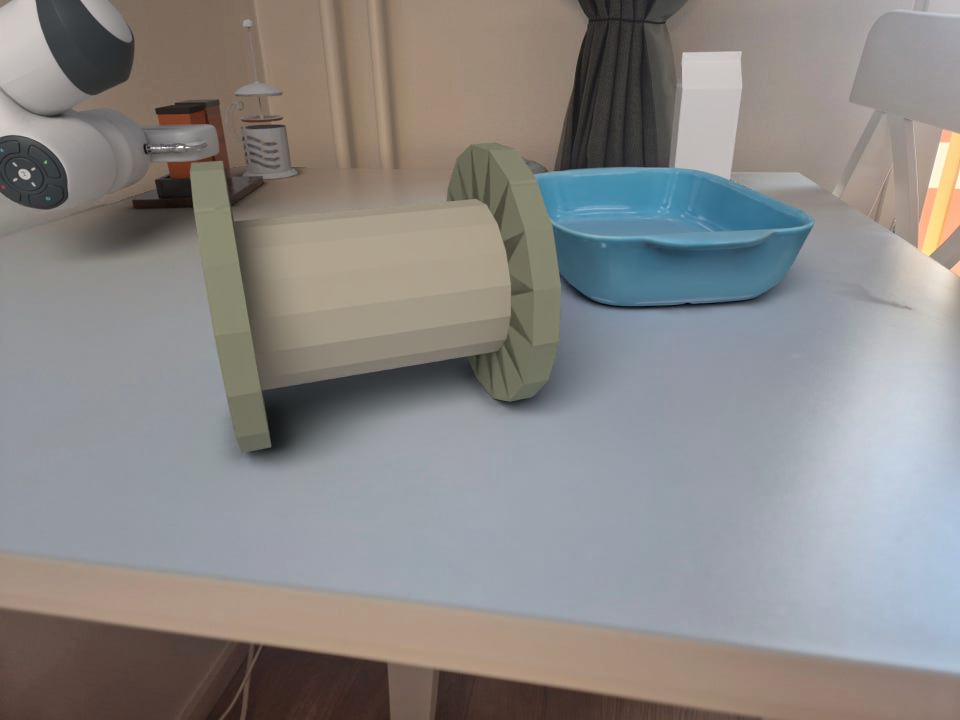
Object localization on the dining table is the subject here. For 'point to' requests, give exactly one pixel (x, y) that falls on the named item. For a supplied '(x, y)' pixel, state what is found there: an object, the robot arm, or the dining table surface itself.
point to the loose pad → (182, 117)
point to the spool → (382, 287)
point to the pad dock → (180, 189)
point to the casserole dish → (668, 235)
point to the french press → (263, 133)
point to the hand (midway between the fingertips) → (154, 135)
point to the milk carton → (706, 112)
